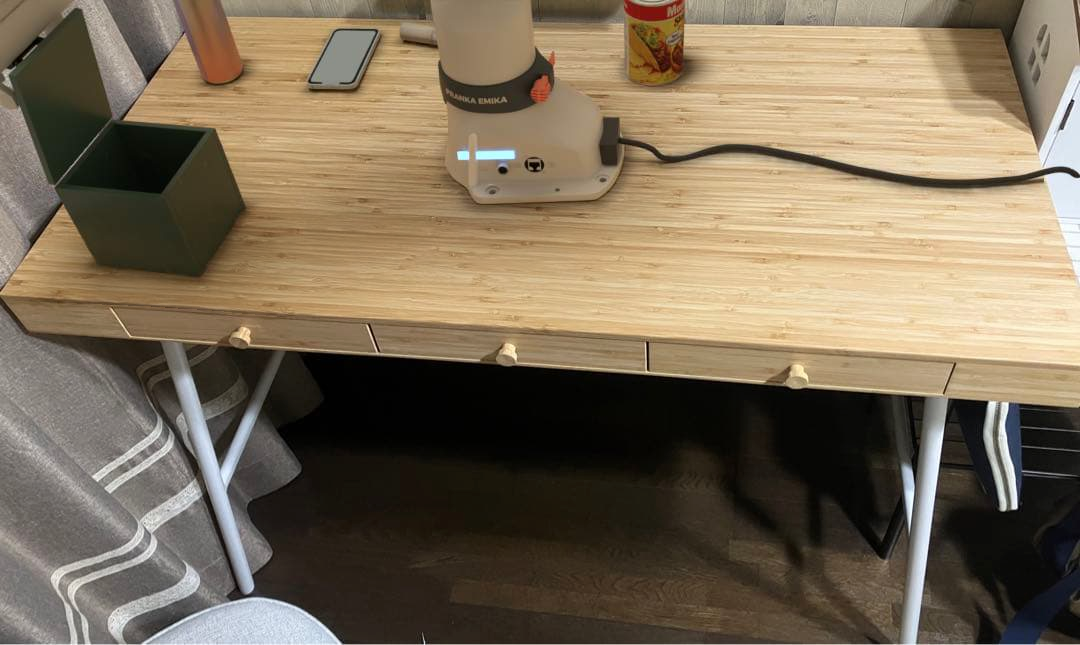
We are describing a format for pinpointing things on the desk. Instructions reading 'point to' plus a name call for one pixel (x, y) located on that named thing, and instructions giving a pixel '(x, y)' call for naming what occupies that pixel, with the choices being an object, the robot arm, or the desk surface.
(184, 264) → the dark green box
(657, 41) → the canned food
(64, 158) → the lid
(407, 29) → the rod
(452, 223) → the desk surface
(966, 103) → the desk surface
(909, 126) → the desk surface
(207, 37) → the beverage can
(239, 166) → the desk surface
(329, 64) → the smartphone
